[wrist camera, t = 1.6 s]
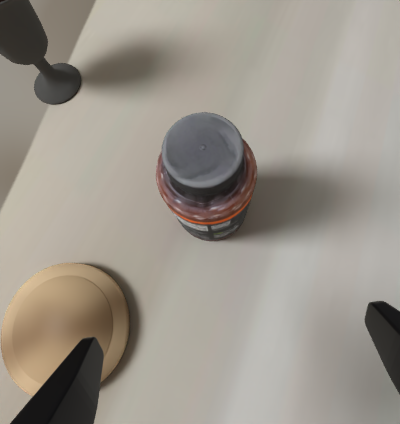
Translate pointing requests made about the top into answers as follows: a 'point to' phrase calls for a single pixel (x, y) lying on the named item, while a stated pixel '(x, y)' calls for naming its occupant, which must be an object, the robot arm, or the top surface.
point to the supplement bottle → (206, 175)
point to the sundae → (34, 51)
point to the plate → (62, 322)
